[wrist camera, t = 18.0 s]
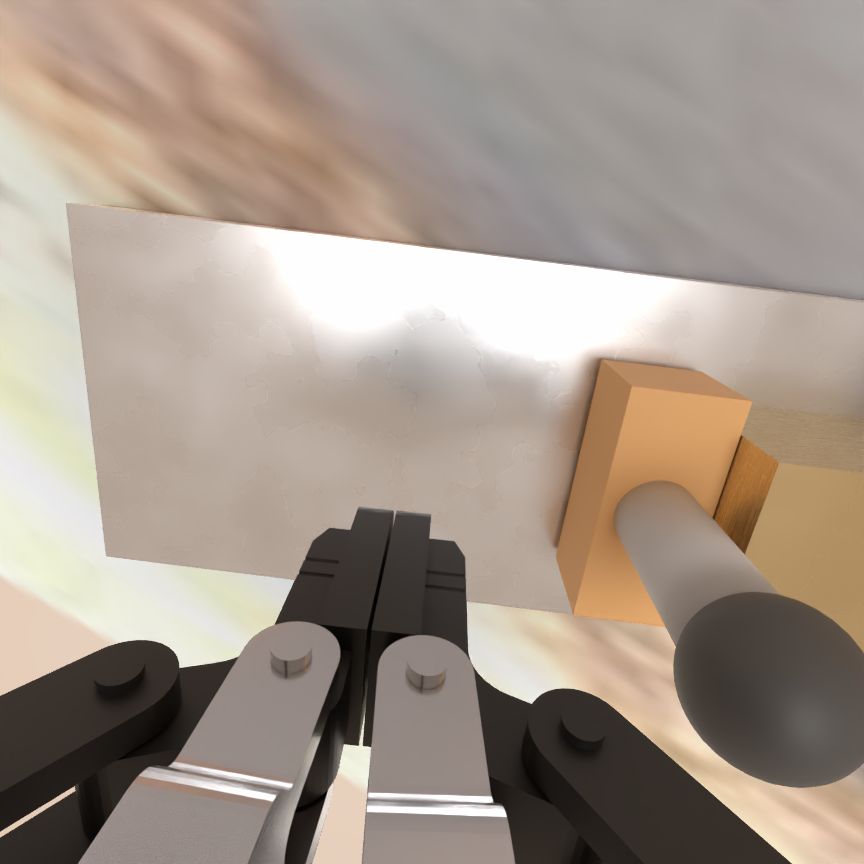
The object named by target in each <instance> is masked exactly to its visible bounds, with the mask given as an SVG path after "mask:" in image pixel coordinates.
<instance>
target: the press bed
mask: <svg viewBox="0 0 864 864" xmlns="http://www.w3.org/2000/svg"><path fill="white" fill-rule="evenodd" d="M66 207H67V216H68V225H69V234H70V242H71V251H72V260H73V269H74V278H75V286H76V295H77V304H78V313H79V321H80V330H81V339H82V348H83V357H84V365H85V374H86V383H87V392H88V400H89V409H90V418H91V427H92V436H93V444H94V453H95V462H96V471H97V479H98V488H99V497H100V506H101V515H102V523H103V532H104V541H105V550H106V556H108V557H116V558H124V559H132V560H140V561H148V562H156V563H164V564H172V565H180V566H188V567H196V568H204V569H212V570H220V571H229V572H237V573H245V574H253V575H261V576H269V577H277V578H285V579H293V580H295V579H296V577H297V574H298V575H299V570H300V568H301V566H302V563H303V561H304V560H305V557H306V555H307V553H308V550H309V548H310V546H311V544H312V542H313V540H314V539H316V538H317V537H318V536H319V535H321V534H322V533H323V532H325V531H326V530H327V529H329V528H337V529H347V530H350V529H351V527H352V524H353V521H354V518H355V515H356V512H357V509H358V507H368V508H377V509H387V510H394V520H395V516H396V511H406V512H415V513H424V514H431V524H430V536H429V538H430V539H439V540H448V541H455V543H456V544H457V546H458V547H459V549H460V550H461V552H462V553H463V555H464V556H465V565H466V577H465V578H466V601H469V602H477V603H485V604H493V605H501V606H509V607H517V608H525V609H533V610H541V611H549V612H557V613H565V614H573V613H572V610H571V607H570V603H569V600H568V597H567V593H566V590H565V587H564V583H563V580H562V577H561V573H560V570H559V567H558V563H557V560H556V554H557V550H558V545H559V541H560V537H561V532H562V528H563V524H564V519H565V515H566V511H567V506H568V502H569V498H570V494H571V489H572V485H573V481H574V476H575V472H576V468H577V463H578V459H579V455H580V451H581V446H582V442H583V438H584V433H585V429H586V425H587V420H588V416H589V412H590V407H591V403H592V399H593V395H594V390H595V386H596V382H597V377H598V373H599V369H600V364H601V360H602V359H605V360H613V361H621V362H629V363H637V364H645V365H653V366H661V367H669V368H677V369H685V370H693V371H701V372H703V373H705V374H706V375H708V376H710V377H712V378H713V379H715V380H717V381H718V382H720V383H722V384H724V385H725V386H727V387H729V388H730V389H732V390H734V391H736V392H737V393H739V394H741V395H743V396H744V397H746V398H748V399H749V400H751V401H752V404H751V405H753V406H761V407H769V408H777V409H785V410H793V411H801V412H809V413H817V414H825V415H833V416H841V417H849V418H857V419H864V300H859V299H851V298H843V297H835V296H827V295H819V294H811V293H803V292H795V291H786V290H778V289H770V288H762V287H754V286H746V285H738V284H730V283H722V282H714V281H706V280H698V279H690V278H682V277H674V276H666V275H658V274H650V273H642V272H634V271H626V270H618V269H610V268H602V267H594V266H586V265H578V264H570V263H562V262H554V261H546V260H538V259H530V258H522V257H514V256H506V255H498V254H490V253H482V252H474V251H466V250H458V249H450V248H442V247H434V246H426V245H418V244H410V243H402V242H394V241H386V240H378V239H370V238H362V237H354V236H346V235H338V234H330V233H322V232H314V231H306V230H298V229H290V228H282V227H274V226H266V225H258V224H250V223H242V222H234V221H226V220H218V219H210V218H202V217H194V216H186V215H178V214H170V213H162V212H154V211H146V210H138V209H130V208H122V207H114V206H105V205H90V204H75V203H66ZM393 525H394V522H393Z"/></svg>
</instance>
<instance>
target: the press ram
mask: <svg viewBox="0 0 864 864" xmlns="http://www.w3.org/2000/svg"><path fill="white" fill-rule="evenodd" d="M751 404H752V401H751V400H749V399H748V398H746V397H744V396H743V395H741V394H739V393H737V392H736V391H734V390H732V389H730V388H729V387H727V386H725V385H724V384H722V383H720V382H718V381H717V380H715V379H713V378H712V377H710V376H708V375H706V374H705V373H703V372H701V371H693V370H685V369H677V368H669V367H661V366H653V365H645V364H637V363H629V362H621V361H613V360H605V359H602V360H601V364H600V369H599V373H598V377H597V382H596V386H595V390H594V395H593V399H592V403H591V407H590V412H589V416H588V420H587V425H586V429H585V433H584V438H583V442H582V446H581V451H580V455H579V459H578V463H577V468H576V472H575V476H574V481H573V485H572V489H571V494H570V498H569V502H568V506H567V511H566V515H565V519H564V524H563V528H562V532H561V537H560V541H559V545H558V550H557V554H556V560H557V563H558V567H559V570H560V573H561V577H562V580H563V583H564V587H565V590H566V593H567V597H568V600H569V603H570V607H571V610H572V613H573V615H574V616H582V617H590V618H598V619H606V620H614V621H622V622H630V623H638V624H646V625H654V626H662V627H666V629H667V630H668V632H669V634H670V636H671V638H672V640H673V642H674V644H675V646H676V649H675V655H674V664H673V666H674V681H675V686H676V690H677V694H678V698H679V700H680V703H681V706H682V708H683V710H684V712H685V714H686V716H687V718H688V720H689V722H690V723H691V725H692V726H693V728H694V729H695V730H696V732H697V733H698V734H699V736H700V737H701V738H702V740H703V741H704V742H705V743H706V744H707V745H708V746H709V747H710V748H711V749H712V750H713V751H714V752H715V753H716V754H718V755H719V756H720V757H721V758H723V759H724V760H725V761H727V762H728V763H729V764H731V765H732V766H734V767H735V768H737V769H739V770H741V771H743V772H744V773H746V774H748V775H750V776H752V777H755V778H757V779H760V780H763V781H765V782H768V783H772V784H776V785H782V786H788V787H797V788H806V787H816V786H822V785H826V784H830V783H833V782H836V781H838V780H841V779H843V778H845V777H846V776H848V775H850V774H851V773H852V772H854V771H855V770H856V769H858V768H859V767H860V766H861V765H862V764H863V763H864V653H863V651H862V650H861V648H860V647H859V646H858V645H857V643H856V642H855V641H854V640H853V639H852V637H851V636H850V635H849V634H848V633H847V632H846V631H845V630H844V629H842V628H841V627H840V626H839V625H838V624H837V623H836V622H835V621H834V620H832V619H831V618H829V617H828V616H826V615H825V614H823V613H822V612H820V611H819V610H817V609H815V608H813V607H811V606H809V605H807V604H805V603H803V602H801V601H799V600H796V599H792V598H789V597H786V596H783V595H780V594H779V593H778V592H777V591H776V590H775V588H774V587H773V586H772V585H771V584H770V583H769V582H768V580H767V579H766V578H765V577H764V576H763V575H762V574H761V573H760V571H759V570H758V569H757V568H756V567H755V566H754V565H753V564H752V562H751V561H750V560H749V559H748V558H747V557H746V556H745V554H744V553H743V552H742V551H741V550H740V549H739V548H738V547H737V545H736V544H735V543H734V542H733V541H732V540H731V539H730V537H729V536H728V535H727V534H726V533H725V532H724V531H723V530H722V528H721V527H720V526H719V525H718V524H717V523H716V522H715V521H714V519H713V515H714V512H715V509H716V506H717V504H718V501H719V498H720V495H721V492H722V489H723V486H724V483H725V480H726V477H727V474H728V471H729V469H730V466H731V463H732V460H733V457H734V454H735V451H736V448H737V445H738V442H739V439H740V436H741V434H742V431H743V428H744V425H745V422H746V419H747V416H748V413H749V410H750V407H751Z"/></svg>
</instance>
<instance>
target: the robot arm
mask: <svg viewBox="0 0 864 864" xmlns="http://www.w3.org/2000/svg"><path fill="white" fill-rule="evenodd" d="M393 522H394V525H393ZM430 524H431V514H424V513H415V512H406V511H396V516H395V520H394V510H387V509H377V508H368V507H358V509H357V512H356V515H355V518H354V521H353V524H352V527H351V529H350V530H347V529H337V528H329V529H327V530H326V531H325V532H323V533H322V534H321V535H319V536H318V537H317V538H316V539H314V540H313V542H312V544H311V546H310V548H309V550H308V553H307V555H306V557H305V560H304V561H303V563H302V566H301V568H300V570H299V575H298V574H297V577H296V579H295V581H294V583H293V585H292V588H291V590H290V592H289V594H288V596H287V599H286V601H285V603H284V605H283V607H282V610H281V612H280V614H279V616H278V618H277V621H276V623H275V625H274V626H271V627H268V628H266V629H264V630H263V631H261V632H259V633H258V634H257V635H255V636H254V637H253V638H252V639H251V640H250V641H249V642H248V643H247V645H246V646H245V648H244V649H243V651H242V652H241V654H240V656H239V657H236V658H234V659H230V660H227V661H223V662H218V663H212V664H205V665H198V666H191V667H184V668H179V661H178V658H177V656H176V654H175V653H174V651H172V650H171V649H170V648H169V647H167V646H165V645H164V644H161V643H158V642H154V641H148V640H136V641H127V642H122V643H118V644H114V645H111V646H108V647H106V648H103V649H101V650H99V651H96V652H94V653H92V654H90V655H88V656H86V657H83V658H81V659H79V660H77V661H75V662H73V663H71V664H68V665H66V666H64V667H62V668H60V669H58V670H56V671H53V672H51V673H49V674H47V675H45V676H42V677H40V678H38V679H36V680H34V681H32V682H30V683H27V684H25V685H23V686H21V687H19V688H16V689H14V690H12V691H10V692H8V693H6V694H4V695H1V696H0V831H2V830H3V829H5V828H7V827H8V826H10V825H12V824H13V823H15V822H16V821H18V820H20V819H21V818H23V817H24V816H26V815H28V814H30V813H31V812H33V811H34V810H36V809H38V808H39V807H41V806H43V805H44V804H46V803H48V802H49V801H51V800H52V799H54V798H56V797H57V796H59V795H60V794H62V793H64V792H65V791H67V790H69V789H70V788H72V787H74V786H75V790H76V791H75V792H73V793H72V794H70V795H68V796H67V797H65V798H64V799H62V800H61V801H59V802H57V803H55V804H54V805H52V806H51V807H49V808H47V809H46V810H44V811H43V812H41V813H39V814H38V815H36V816H35V817H33V818H31V819H30V820H28V821H27V822H25V823H23V824H22V825H20V826H18V827H17V828H15V829H14V830H12V831H10V832H9V833H7V834H5V835H4V836H2V837H1V838H0V864H312V862H313V859H314V856H315V852H316V849H317V846H318V842H319V839H320V836H321V832H322V829H323V825H324V822H325V818H326V815H327V812H328V809H329V805H330V802H331V798H332V794H333V789H334V779H335V777H336V775H337V772H338V768H339V764H340V759H341V755H342V750H343V745H344V744H347V745H356V746H359V741H360V735H361V730H362V725H363V719H364V714H365V723H364V737H363V746H368V747H371V757H370V769H369V780H368V792H367V804H366V816H365V829H364V842H363V854H362V864H792V863H790V862H789V861H788V860H787V859H786V858H785V857H784V856H782V855H781V854H780V853H779V852H778V851H777V850H776V849H774V848H773V847H772V846H771V845H770V844H769V843H767V842H766V841H765V840H764V839H763V838H762V837H761V836H759V835H758V834H757V833H756V832H755V831H754V830H753V829H751V828H750V827H749V826H748V825H747V824H746V823H745V822H743V821H742V820H741V819H740V818H739V817H738V816H737V815H735V814H734V813H733V812H732V811H731V810H730V809H729V808H727V807H726V806H725V805H724V804H723V803H722V802H721V801H719V800H718V799H717V798H716V797H715V796H714V795H713V794H711V793H710V792H709V791H708V790H707V789H706V788H704V787H703V786H702V785H701V784H700V783H699V782H698V781H696V780H695V779H694V778H693V777H692V776H691V775H690V774H688V773H687V772H686V771H685V770H684V769H683V768H682V767H680V766H679V765H678V764H677V763H676V762H675V761H674V760H672V759H671V758H670V757H669V756H668V755H667V754H666V753H664V752H663V751H662V750H661V749H660V748H659V747H658V746H656V745H655V744H654V743H653V742H652V741H651V740H650V739H648V738H647V737H646V736H645V735H644V734H643V733H641V732H640V731H639V730H638V729H637V728H636V727H635V726H633V725H632V724H631V723H630V722H629V721H628V720H627V719H625V718H624V717H623V716H622V715H621V714H620V713H619V712H617V711H616V710H615V709H614V708H613V707H611V706H610V705H609V704H608V703H606V702H605V701H603V700H601V699H600V698H598V697H596V696H594V695H592V694H589V693H586V692H583V691H580V690H575V689H565V688H564V689H555V690H551V691H548V692H545V693H543V694H542V695H540V696H539V697H538V698H537V699H536V700H535V701H534V702H533V704H530V703H528V702H525V701H522V700H520V699H517V698H515V697H512V696H510V695H507V694H505V693H503V692H501V691H499V690H497V689H496V688H494V687H493V686H491V685H490V684H489V683H487V682H486V681H485V680H484V679H483V678H482V677H481V676H480V675H479V674H478V673H477V671H476V670H475V669H474V667H473V665H472V663H471V661H470V658H469V654H468V636H467V601H466V578H465V577H466V565H465V556H464V555H463V553H462V552H461V550H460V549H459V547H458V546H457V544H456V543H455V541H448V540H439V539H430V538H429V536H430ZM365 709H366V710H365Z"/></svg>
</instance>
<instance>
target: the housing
mask: <svg viewBox="0 0 864 864" xmlns="http://www.w3.org/2000/svg"><path fill="white" fill-rule="evenodd" d="M713 519H714V521H715V522H716V523H717V524H718V525H719V526H720V527H721V528H722V530H723V531H724V532H725V533H726V534H727V535H728V536H729V537H730V539H731V540H732V541H733V542H734V543H735V544H736V545H737V547H738V548H739V549H740V550H741V551H742V552H743V553H744V554H745V556H746V557H747V558H748V559H749V560H750V561H751V562H752V564H753V565H754V566H755V567H756V568H757V569H758V570H759V571H760V573H761V574H762V575H763V576H764V577H765V578H766V579H767V580H768V582H769V583H770V584H771V585H772V586H773V587H774V588H775V590H776V591H777V592H778V593H779V594H780V595H783V596H786V597H789V598H792V599H796V600H799V601H801V602H803V603H805V604H807V605H809V606H811V607H813V608H815V609H817V610H819V611H820V612H822V613H823V614H825V615H826V616H828V617H829V618H831V619H832V620H834V621H835V622H836V623H837V624H838V625H839V626H840V627H841V628H842V629H844V630H845V631H846V632H847V633H848V634H849V635H850V636H851V637H852V639H853V640H854V641H855V642H856V643H857V645H858V646H859V647H860V648H861V650H862V651H863V653H864V419H857V418H849V417H841V416H833V415H825V414H817V413H809V412H801V411H793V410H785V409H777V408H769V407H761V406H753V405H751V407H750V410H749V413H748V416H747V419H746V422H745V425H744V428H743V431H742V434H741V436H740V439H739V442H738V445H737V448H736V451H735V454H734V457H733V460H732V463H731V466H730V469H729V471H728V474H727V477H726V480H725V483H724V486H723V489H722V492H721V495H720V498H719V501H718V504H717V506H716V509H715V512H714V515H713Z"/></svg>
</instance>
